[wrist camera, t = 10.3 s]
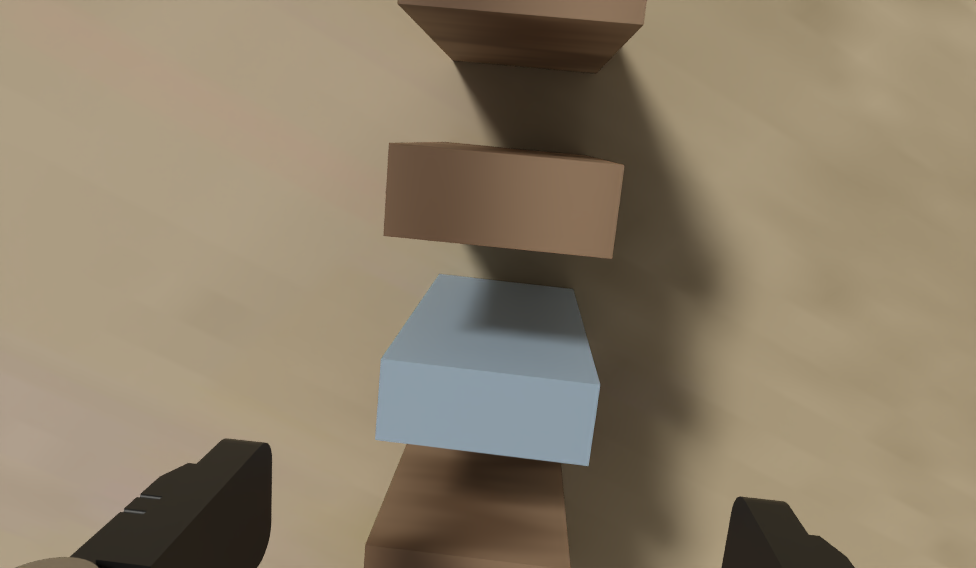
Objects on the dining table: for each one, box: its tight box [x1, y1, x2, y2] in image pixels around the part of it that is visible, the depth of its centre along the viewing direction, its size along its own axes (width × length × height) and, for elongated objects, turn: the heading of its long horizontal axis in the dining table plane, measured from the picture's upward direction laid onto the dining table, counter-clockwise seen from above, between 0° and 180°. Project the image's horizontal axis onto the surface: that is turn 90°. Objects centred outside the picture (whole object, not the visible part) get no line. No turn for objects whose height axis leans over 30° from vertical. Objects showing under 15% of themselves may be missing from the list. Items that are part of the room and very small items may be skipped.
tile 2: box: [384, 142, 625, 259], centre depth 19 cm, size 5×2×10 cm, turn 85°
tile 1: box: [397, 0, 647, 73], centre depth 18 cm, size 5×2×10 cm, turn 85°
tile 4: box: [364, 444, 571, 568], centre depth 21 cm, size 5×2×10 cm, turn 85°
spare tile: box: [375, 274, 600, 466], centre depth 20 cm, size 5×2×10 cm, turn 84°
